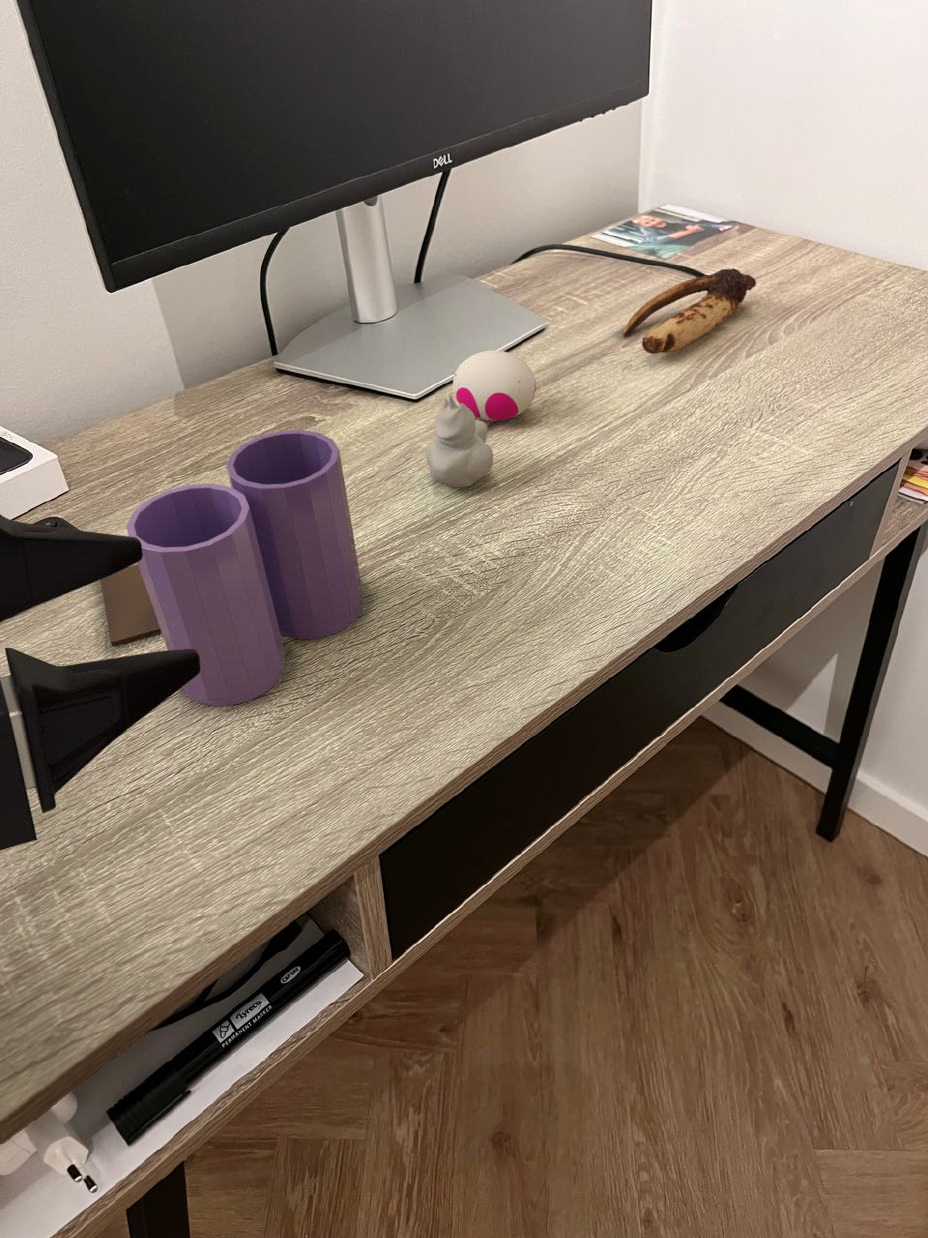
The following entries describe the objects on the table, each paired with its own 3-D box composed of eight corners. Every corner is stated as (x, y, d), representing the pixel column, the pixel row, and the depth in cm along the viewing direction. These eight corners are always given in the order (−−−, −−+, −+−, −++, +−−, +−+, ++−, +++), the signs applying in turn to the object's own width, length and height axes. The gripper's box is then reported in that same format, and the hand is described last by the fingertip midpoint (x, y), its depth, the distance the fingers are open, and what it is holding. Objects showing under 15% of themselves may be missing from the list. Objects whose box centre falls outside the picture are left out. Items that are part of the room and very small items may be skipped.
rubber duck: (413, 488, 79) (402, 399, 74) (456, 451, 83) (449, 363, 78) (469, 505, 77) (463, 414, 72) (511, 465, 81) (508, 376, 76)
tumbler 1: (188, 719, 60) (134, 564, 53) (172, 651, 65) (120, 501, 58) (296, 686, 62) (259, 531, 54) (272, 623, 67) (235, 472, 59)
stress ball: (453, 450, 90) (427, 415, 84) (479, 373, 91) (455, 333, 85) (529, 461, 87) (507, 426, 81) (554, 382, 88) (535, 341, 82)
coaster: (112, 646, 66) (110, 642, 66) (100, 578, 72) (99, 574, 72) (234, 612, 68) (232, 608, 68) (213, 548, 74) (211, 544, 74)
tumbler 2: (277, 651, 65) (238, 498, 57) (255, 592, 70) (217, 445, 62) (375, 622, 67) (351, 470, 59) (347, 567, 72) (322, 420, 64)
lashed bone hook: (686, 294, 107) (592, 352, 96) (689, 250, 104) (592, 305, 93) (765, 309, 101) (675, 372, 91) (771, 263, 99) (678, 323, 88)
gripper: (-369, 656, 25) (228, 549, 32) (-320, 380, 38) (99, 347, 45) (-235, 931, 31) (239, 791, 38) (-231, 615, 44) (123, 553, 51)
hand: (167, 600), depth 43 cm, fingers open, 9 cm apart
